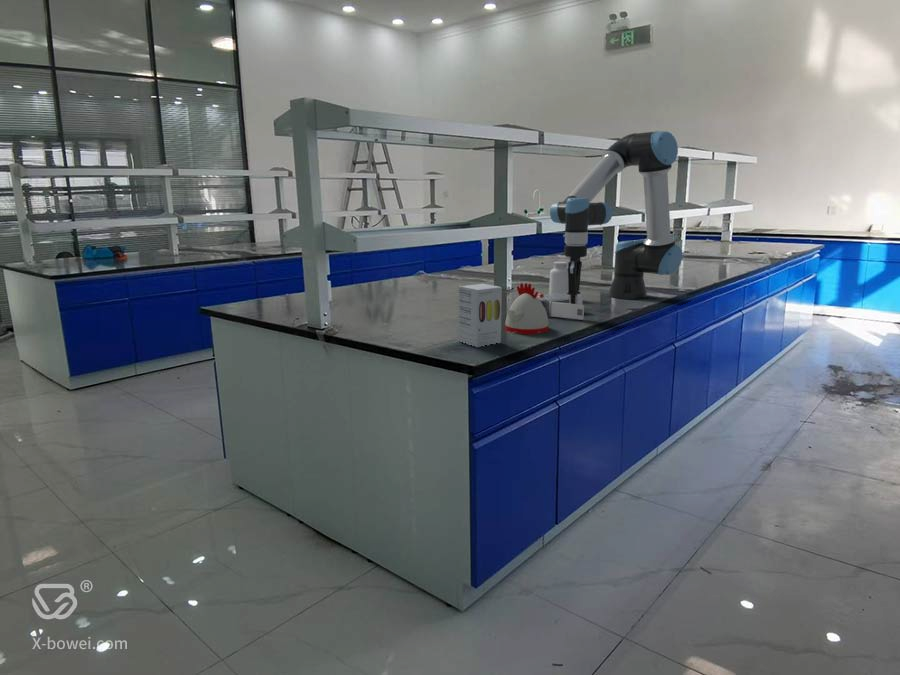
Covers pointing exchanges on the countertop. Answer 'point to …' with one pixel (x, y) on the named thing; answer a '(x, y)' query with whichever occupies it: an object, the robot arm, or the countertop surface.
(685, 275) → the countertop surface
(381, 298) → the countertop surface
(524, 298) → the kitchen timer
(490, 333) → the supplement box
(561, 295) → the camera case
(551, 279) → the pill bottle
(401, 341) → the countertop surface
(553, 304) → the thin white box
